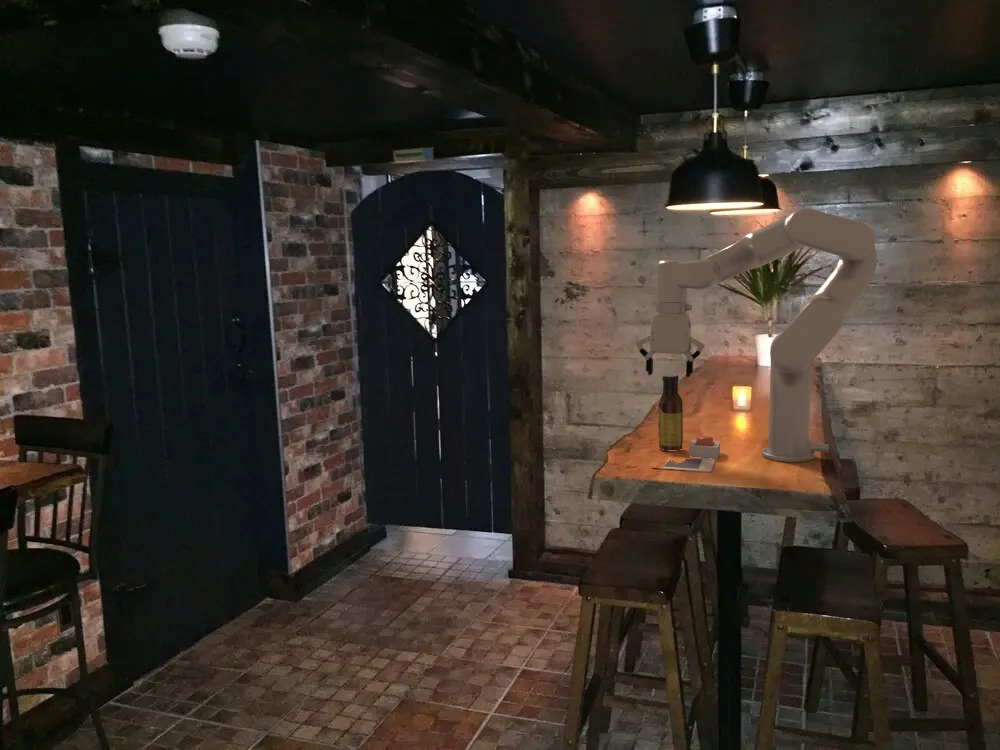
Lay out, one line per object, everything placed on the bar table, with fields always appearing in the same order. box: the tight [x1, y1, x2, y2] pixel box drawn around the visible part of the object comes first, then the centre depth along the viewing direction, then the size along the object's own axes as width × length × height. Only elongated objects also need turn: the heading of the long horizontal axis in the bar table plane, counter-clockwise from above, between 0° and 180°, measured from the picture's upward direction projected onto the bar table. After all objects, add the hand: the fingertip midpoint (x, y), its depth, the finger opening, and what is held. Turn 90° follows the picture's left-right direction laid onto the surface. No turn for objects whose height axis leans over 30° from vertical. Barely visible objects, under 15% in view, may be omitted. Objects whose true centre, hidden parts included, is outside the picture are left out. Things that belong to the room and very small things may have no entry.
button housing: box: [688, 439, 721, 460], centre depth 210 cm, size 7×7×3 cm
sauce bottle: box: [658, 373, 684, 451], centre depth 215 cm, size 7×6×20 cm
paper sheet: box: [661, 457, 716, 473], centre depth 201 cm, size 14×12×1 cm
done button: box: [696, 435, 714, 446], centre depth 209 cm, size 4×4×3 cm
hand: (669, 375), depth 213 cm, fingers open, 9 cm apart
